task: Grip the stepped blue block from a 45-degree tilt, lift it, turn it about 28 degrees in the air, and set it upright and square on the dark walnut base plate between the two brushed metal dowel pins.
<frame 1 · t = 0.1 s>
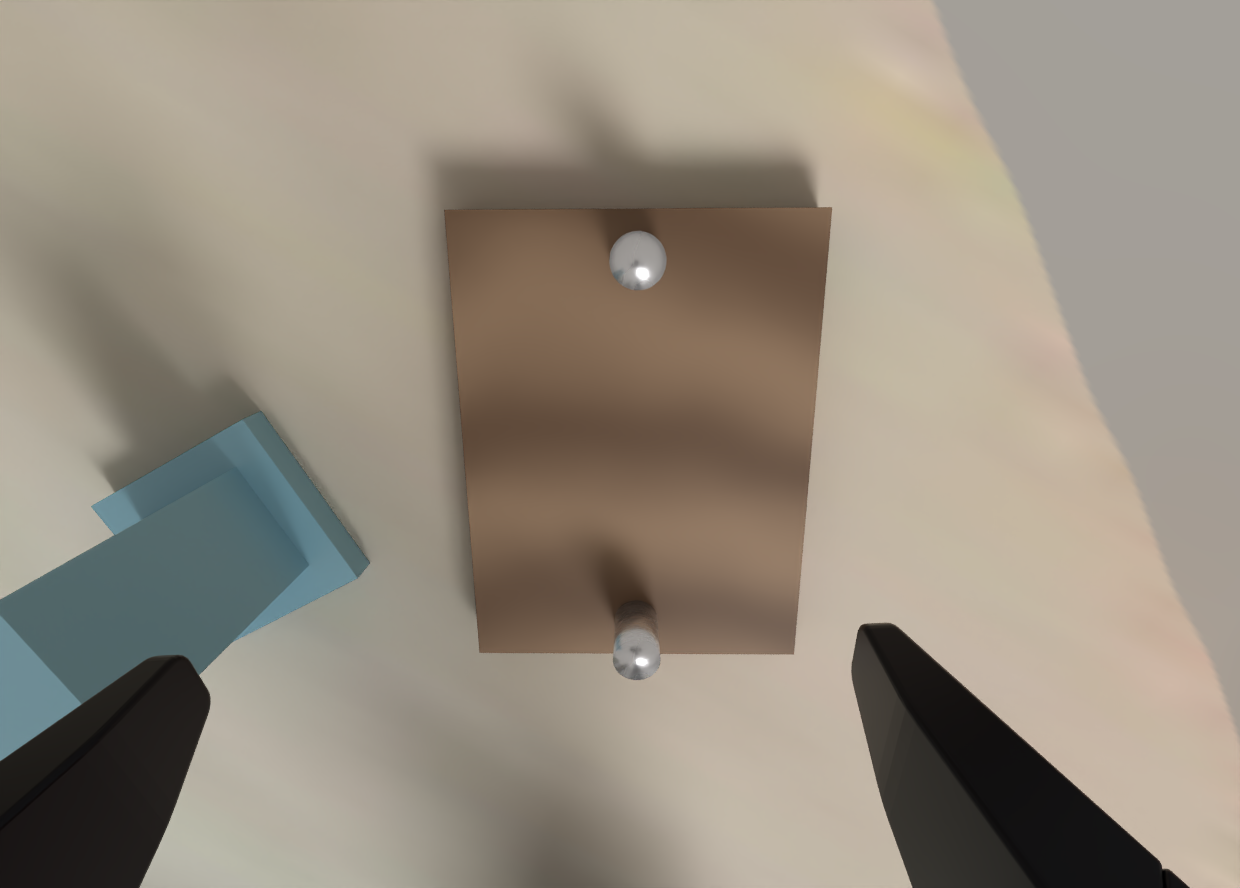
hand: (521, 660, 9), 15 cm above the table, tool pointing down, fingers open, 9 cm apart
walnut base plate: (636, 441, 24), on the table
dowel pins: (636, 466, 21), on the walnut base plate, point 3 cm above the table
stepped blue block: (244, 529, 25), on the table
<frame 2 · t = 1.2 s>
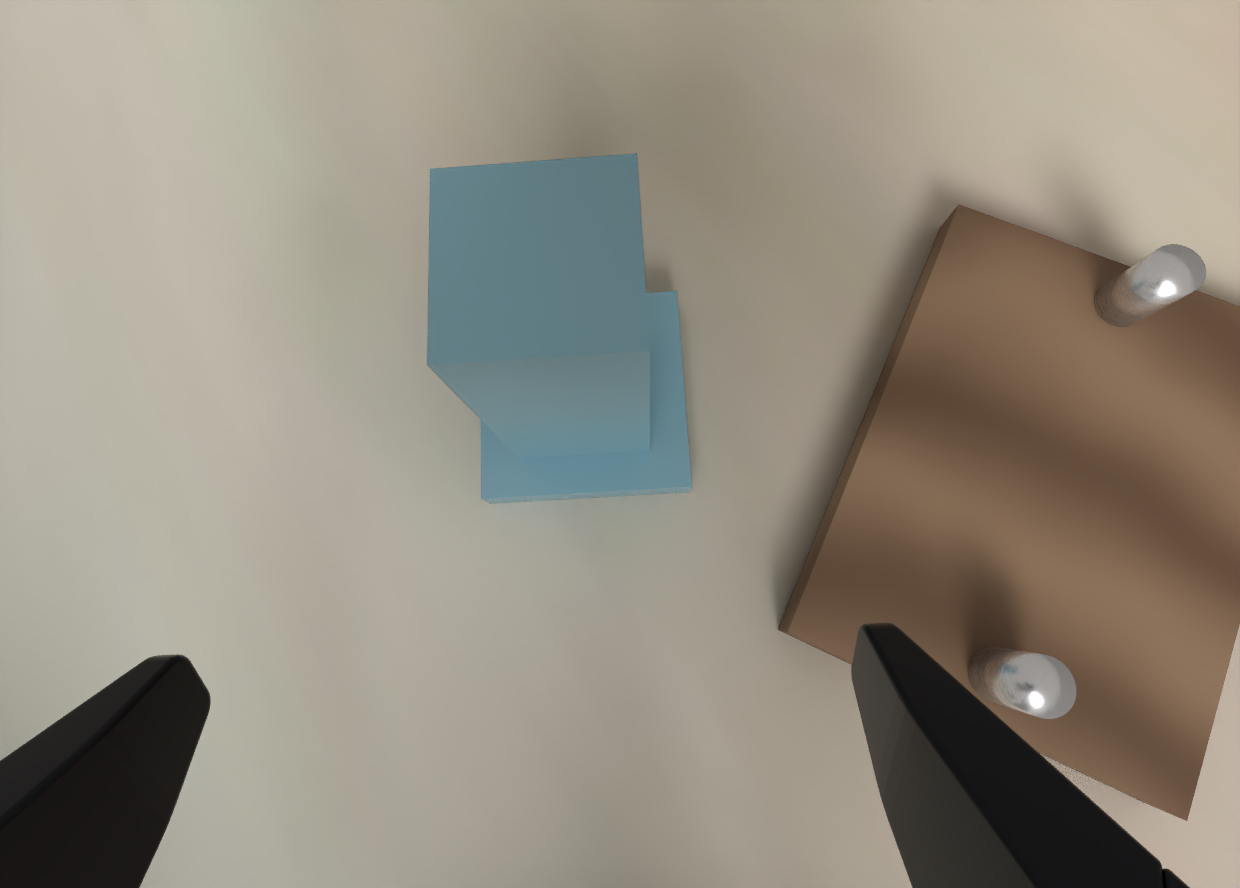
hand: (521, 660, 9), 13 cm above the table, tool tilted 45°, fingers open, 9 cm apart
walnut base plate: (1033, 486, 22), on the table
dowel pins: (1086, 471, 19), on the walnut base plate, point 3 cm above the table
stepped blue block: (585, 401, 23), on the table
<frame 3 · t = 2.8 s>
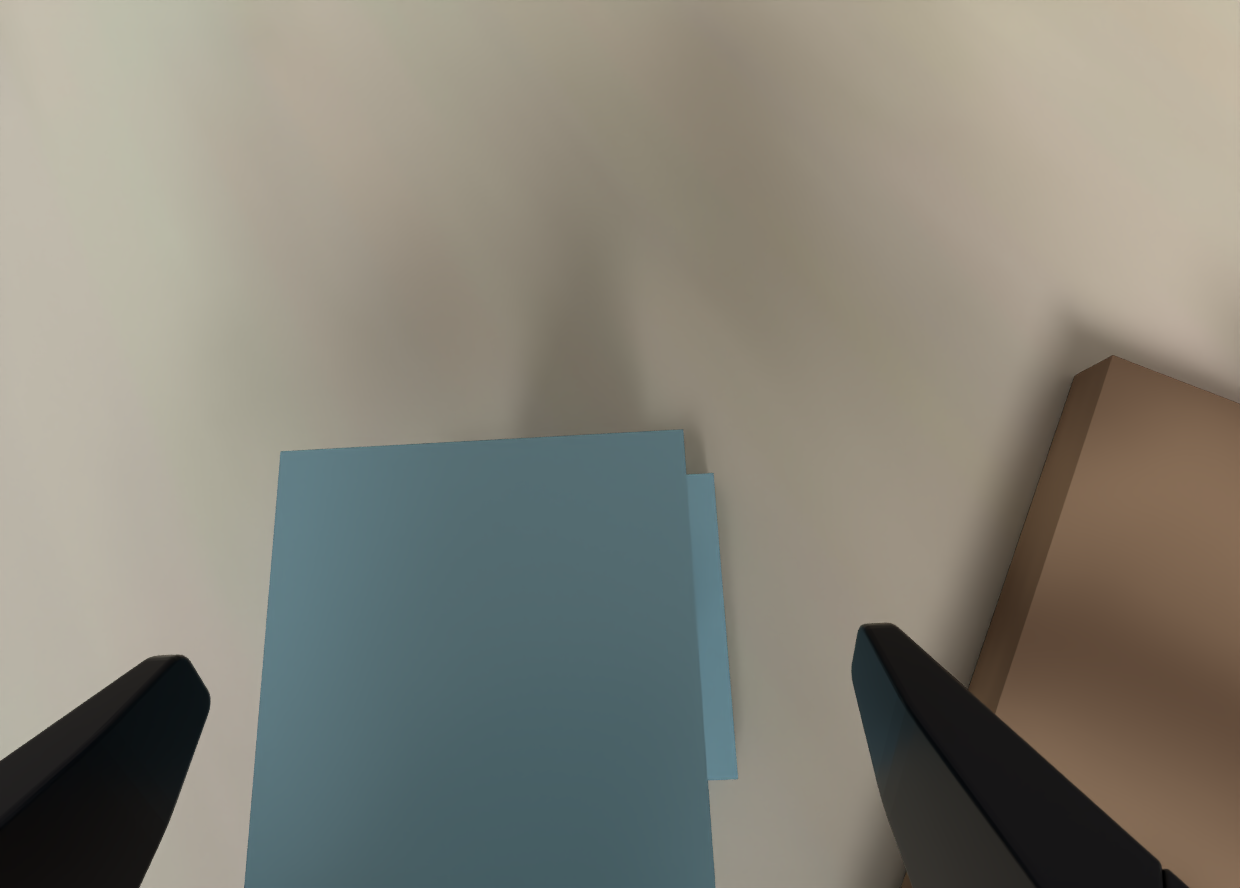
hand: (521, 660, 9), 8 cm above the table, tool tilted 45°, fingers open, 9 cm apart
walnut base plate: (1231, 771, 15), on the table
stepped blue block: (583, 622, 17), on the table
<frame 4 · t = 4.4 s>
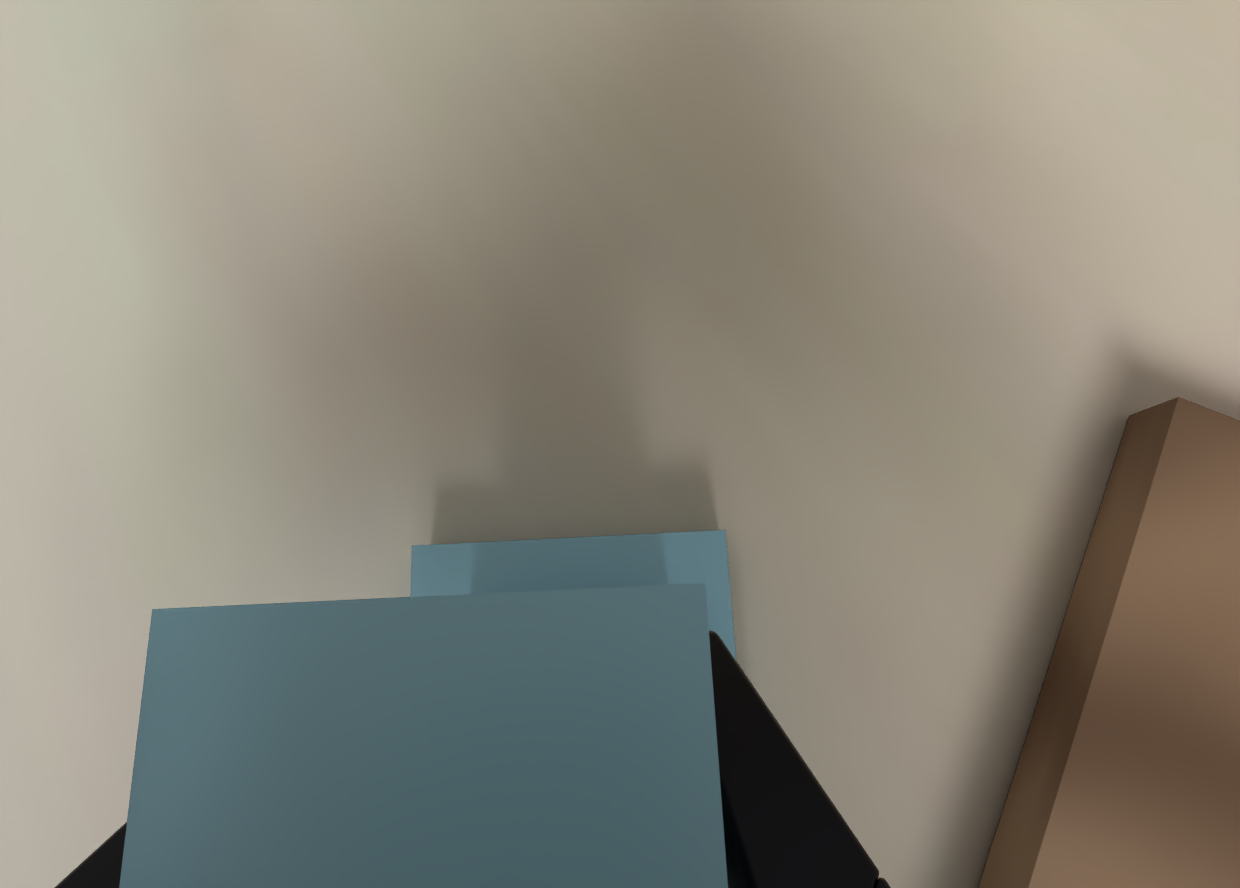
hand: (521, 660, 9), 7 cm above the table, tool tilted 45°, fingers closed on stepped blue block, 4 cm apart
stepped blue block: (578, 697, 15), on the table, touching gripper
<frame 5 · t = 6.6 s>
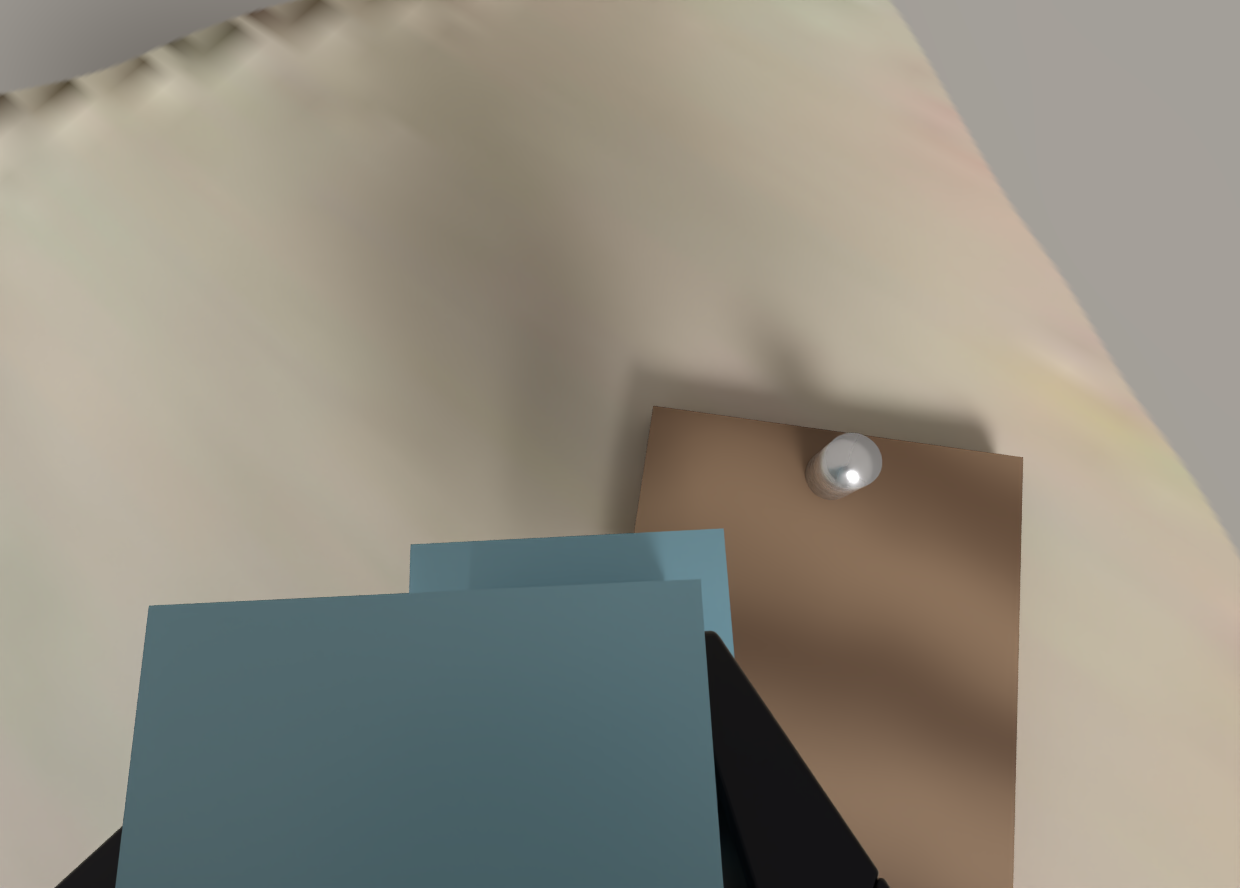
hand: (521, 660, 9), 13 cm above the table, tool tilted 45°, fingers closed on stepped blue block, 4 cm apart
walnut base plate: (800, 678, 21), on the table
dowel pins: (822, 690, 18), on the walnut base plate, point 3 cm above the table
stepped blue block: (576, 695, 15), point 7 cm above the table, touching gripper
when the fingers open (9 cm above the table, at t = 8.9 s): stepped blue block drops 1 cm, resting on walnut base plate.
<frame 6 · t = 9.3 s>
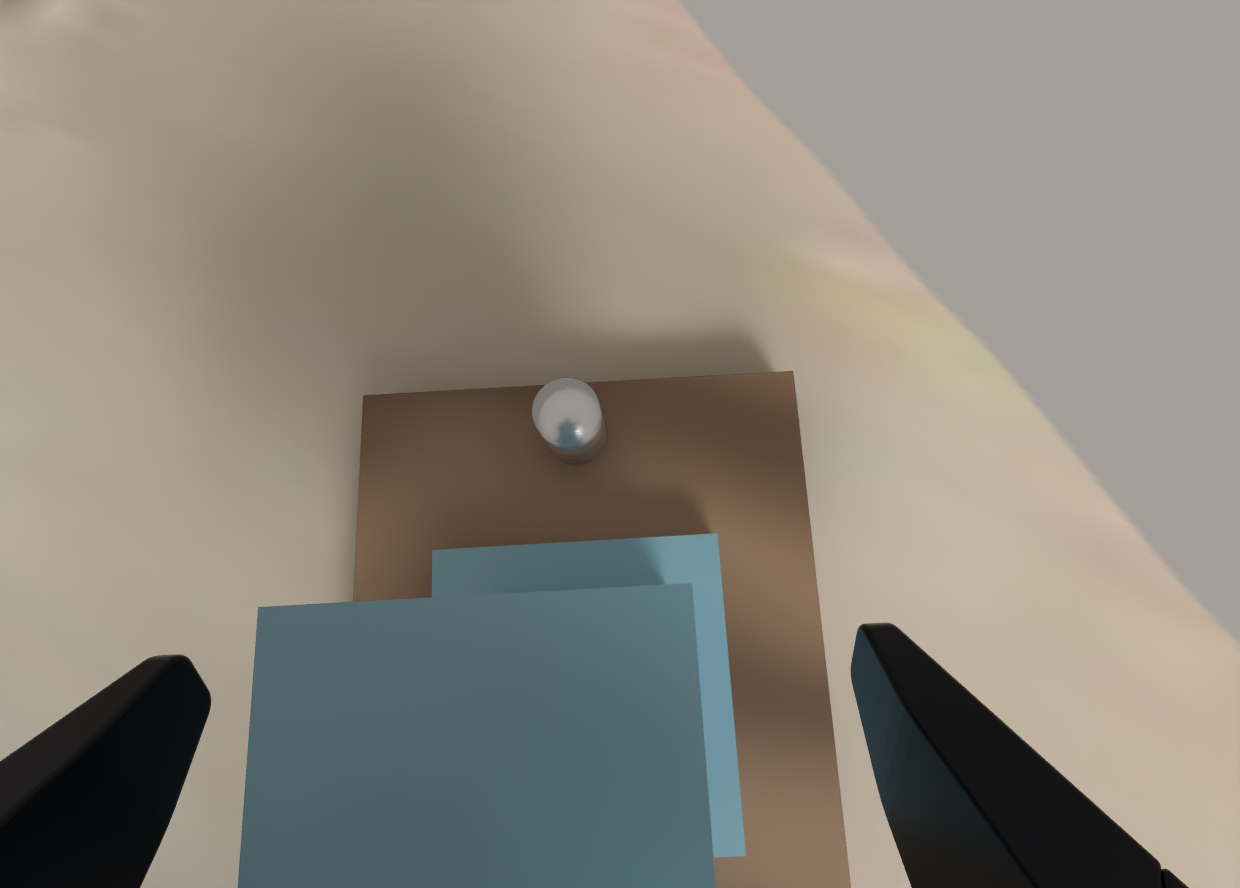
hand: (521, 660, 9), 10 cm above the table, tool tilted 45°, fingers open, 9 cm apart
walnut base plate: (590, 680, 18), on the table
dowel pins: (579, 695, 15), on the walnut base plate, point 3 cm above the table
stepped blue block: (584, 686, 16), point 1 cm above the table, touching walnut base plate
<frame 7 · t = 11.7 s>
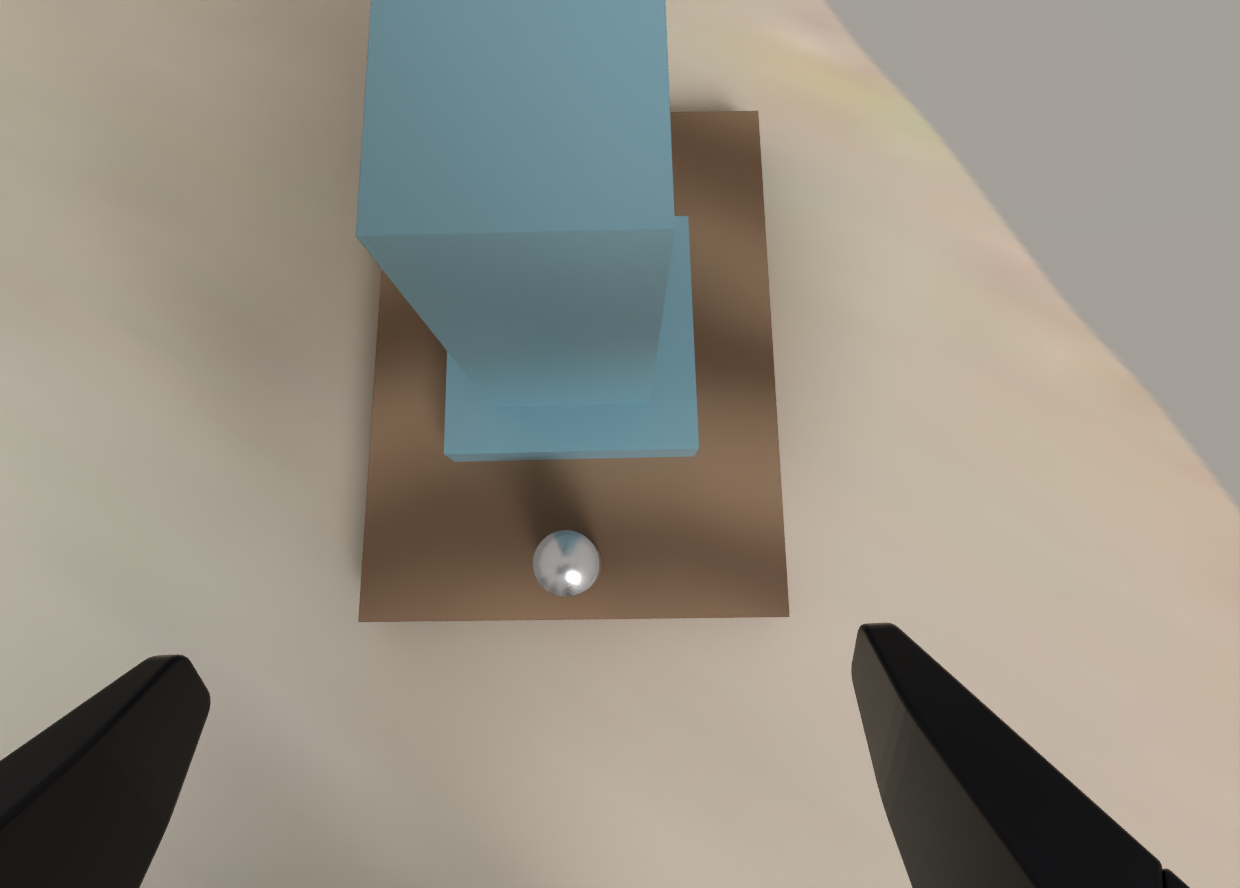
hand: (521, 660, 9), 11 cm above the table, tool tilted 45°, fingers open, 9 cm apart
walnut base plate: (577, 362, 21), on the table
dowel pins: (570, 331, 18), on the walnut base plate, point 2 cm above the table
stepped blue block: (573, 345, 20), point 1 cm above the table, touching walnut base plate
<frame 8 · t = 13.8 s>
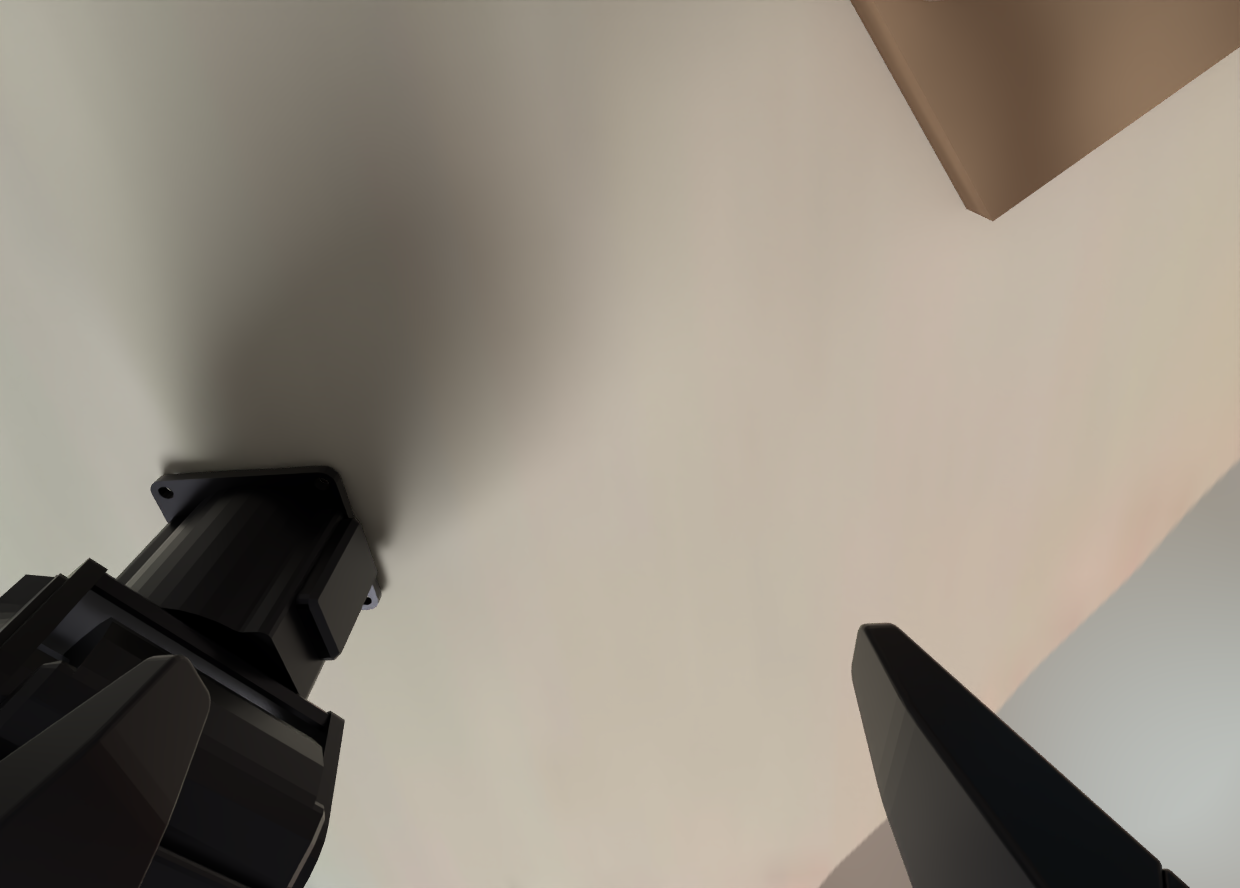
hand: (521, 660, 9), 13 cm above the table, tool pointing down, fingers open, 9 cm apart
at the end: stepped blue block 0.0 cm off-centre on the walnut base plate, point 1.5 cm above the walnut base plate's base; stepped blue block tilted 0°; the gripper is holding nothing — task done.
